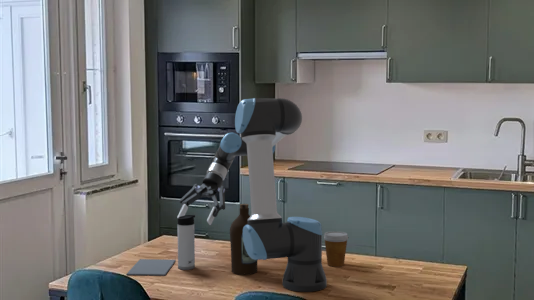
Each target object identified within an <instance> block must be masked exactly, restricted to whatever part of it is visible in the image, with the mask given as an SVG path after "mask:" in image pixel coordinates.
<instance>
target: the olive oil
mask: <svg viewBox="0 0 534 300" xmlns="http://www.w3.org/2000/svg"><path fill="white" fill-rule="evenodd" d="M249 212H250V208H249V204H248V203H240V204H239V214H238V215H237V217H236V218H235V219H234V220H233V221H232V222H231V224H230V227H229V239H230V243H229V244H230V258H231V259H230V261H231V263H230V265H231V272H232V273H233V274H236V275H240V276H245V275H246V276H247V275H249V276H250V275H253V274H256V273H257V272H258V261H259V260H254V259H252V258H250V256H249V255H248V253H247V252H246V249H245V246H244V242H243V227H244V226H245V225H248V218H249V217H250V216H251V214H250V213H249Z"/></svg>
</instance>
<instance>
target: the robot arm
mask: <svg viewBox="0 0 534 300" xmlns="http://www.w3.org/2000/svg"><path fill="white" fill-rule="evenodd" d="M302 114H303V113H302V111H301V109H300V107H299V106H298V105H297V104H296V103H294V102H293V101H291V100H290V99H287V98H269V97H267V98H263V97H262V98H259V97H253V98H244V99H242V100H241V101H240V102H239V103H238V105H237V107H236V111H235V116H234V117H235V118H234V128H235V131H236V132H228V133H226V134H225V135H224V136H223V138H221V141H220V143H219V147H218V148H217V150H216V153H215V154H214V157H213V159H212V161H211V163H210V165H209V166H208V169H207V170H206V174H205V175H204V177H203V179H202V184H201V185H198V184H197V183H194V184H193V186H192V188H191V189H190V190H188V191H187V193H185V194H184V195H183V196H182V197H181V198H179V200H178V202H179V203H180V205H181V206H180V208H179V211H178V212H179V213H178V215H177V216H176V217H177V218H176V219H178V218H179V217H180V216H185V215H186V214H187V212H188V210H189V206H190V205H192V204H194V203H195V202H196V201H197V200H199V199H202V198H211V199H212V201H213V203H214V206H212V209H211V210H210V212H209V215H208V216H207V219H206V222H207V224H208V225H209V226H211V225H212V224H213V223H214V219H215V218H217V216H218V214H219V212H220V211H221V210H226V199H225V195H226V189H225V187H224V186H223V183H224V181H225V178H226V176H227V175H228V172H229V170H230V168H231V165H232V164H233V161H234V160H235V157H240V156H244V157H245V156H246V157H247V166H248V167H247V168H248V181H249V194H250V209H251V214H250V217H249V218H248V225H245V226H244V227H243V242H244V246H245V249H246V252H247V253H248V255H249V256H250V258H252V259H254V260H258V261H259V260H261V261H262V260H263V261H266V260H272V259H273V260H274V259H282V258H287V263H286V267H285V270H284V273H283V276H282V278H281V279H282V282H281V283H282V284H281V285H282V287H283V288H285V289H286V290H289V291H294V292H303V293H304V292H305V293H306V292H307V293H308V292H309V293H310V292H316V291H322V290H324V289H326V288H327V285H328V284H327V283H328V281H327V280H328V279H327V275H326V271H325V270H324V267H323V264H322V262H323V261H322V256H323V250H322V249H323V236H324V235H323V229H322V228H323V227H322V223H321V222H320V221H319V220H317V219H314V218H309V217H305V216H289V217H287V220H286V221H285V222H283V217H282V216H281V215H280V214H279V213H278V206H277V204H278V203H277V195H276V192H277V191H276V180H275V167H274V154H275V150H276V145H277V144H278V143H279V142H280V141H281V140H283V138H285V137H286V136H289V135H292V134H295V132H296V131H298V129H300V127H301V124H302V122H303V115H302ZM218 193H219V194H218ZM216 194H218V195H219V201H218V199H217V198H218V197H217V195H216Z"/></svg>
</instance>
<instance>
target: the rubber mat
mask: <svg viewBox="0 0 534 300" xmlns="http://www.w3.org/2000/svg"><path fill="white" fill-rule="evenodd" d="M175 263H176V259H164V258H163V259H154V258H153V259H151V258H140V259H139V260H138V261H137V262H136V263H135V264H134V265H133V266H132V267H131V268H130V269H129V271H127V273H126V276H144V277H145V275H146V276H147V275H149V276H153V277H158V276H159V277H161V276H162V277H164V276H167V273H168V272H169V271H170V270H171V268H172V267H173V265H174V264H175ZM149 276H148V277H149Z"/></svg>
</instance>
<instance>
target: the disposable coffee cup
mask: <svg viewBox="0 0 534 300" xmlns="http://www.w3.org/2000/svg"><path fill="white" fill-rule="evenodd" d="M322 239H323V240H324V246H325V256H326V264H327V266H329V267H334V268H339V267H341V268H342V267H344V266H345V260H346V254H347V253H346V251H347V245H348V239H349V236H348V233H347V232H344V231H326V232H324V235H323V236H322Z"/></svg>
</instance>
